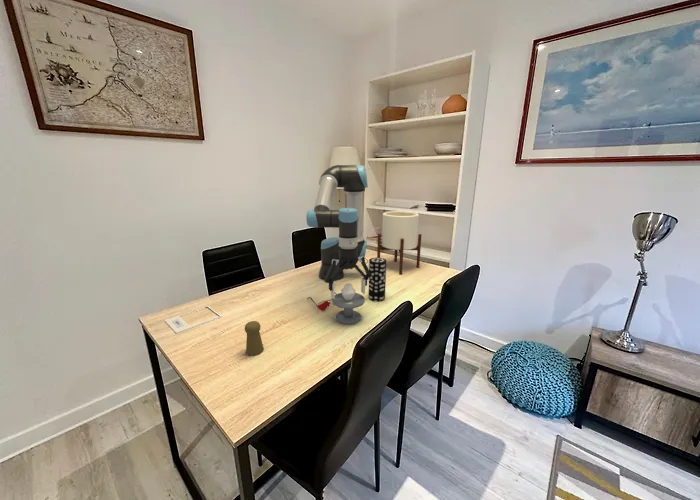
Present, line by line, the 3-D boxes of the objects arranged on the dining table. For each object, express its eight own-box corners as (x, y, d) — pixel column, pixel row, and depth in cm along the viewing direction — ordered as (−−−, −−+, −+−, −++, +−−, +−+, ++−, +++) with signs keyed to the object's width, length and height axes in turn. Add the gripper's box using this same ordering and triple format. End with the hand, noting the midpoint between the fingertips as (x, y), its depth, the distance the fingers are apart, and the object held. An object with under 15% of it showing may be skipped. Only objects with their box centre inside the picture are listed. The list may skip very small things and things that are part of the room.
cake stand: (328, 313, 128) (328, 294, 125) (357, 308, 132) (357, 290, 130) (337, 328, 115) (337, 308, 112) (369, 322, 119) (369, 303, 117)
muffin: (342, 295, 124) (341, 280, 122) (356, 296, 124) (356, 281, 122) (340, 301, 118) (340, 286, 116) (354, 302, 118) (354, 286, 116)
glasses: (318, 313, 128) (317, 303, 127) (306, 299, 142) (306, 289, 141) (346, 307, 134) (346, 297, 133) (332, 294, 148) (332, 285, 147)
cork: (248, 346, 103) (245, 319, 101) (265, 345, 104) (262, 318, 101) (243, 356, 98) (240, 328, 95) (261, 355, 98) (259, 327, 95)
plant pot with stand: (374, 267, 188) (375, 213, 179) (395, 260, 203) (397, 210, 193) (401, 276, 172) (404, 217, 163) (422, 267, 187) (426, 213, 177)
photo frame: (164, 319, 120) (208, 305, 133) (164, 321, 121) (208, 307, 134) (176, 332, 111) (222, 315, 124) (176, 334, 111) (222, 318, 124)
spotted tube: (384, 302, 138) (385, 263, 132) (367, 300, 139) (368, 262, 134) (385, 295, 146) (387, 258, 140) (369, 293, 147) (370, 257, 142)
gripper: (320, 252, 107) (321, 303, 113) (380, 246, 115) (378, 294, 121) (315, 247, 114) (317, 295, 120) (372, 242, 122) (371, 287, 128)
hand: (348, 295), depth 121 cm, fingers open, 13 cm apart
